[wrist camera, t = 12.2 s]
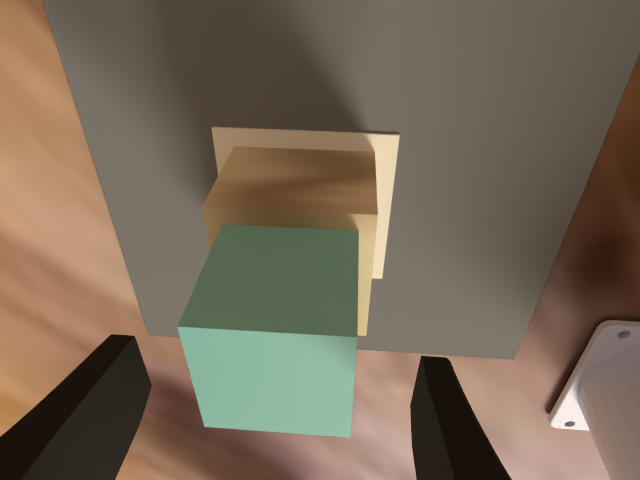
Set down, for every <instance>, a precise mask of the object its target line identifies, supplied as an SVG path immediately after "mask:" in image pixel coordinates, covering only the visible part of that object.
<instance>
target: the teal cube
mask: <svg viewBox="0 0 640 480" xmlns="http://www.w3.org/2000/svg"><path fill="white" fill-rule="evenodd" d="M358 263H359V231H358V230H336V229H313V228H291V227H268V226H246V225H223V224H222V225H221V228H220V230H219V232H218V234H217V237H216V239H215V241H214V244H213V246H212V248H211V250H210V253H209V255H208V257H207V260H206V262H205V264H204V266H203V269H202V271H201V273H200V276H199V278H198V280H197V283H196V285H195V287H194V289H193V292H192V294H191V296H190V299H189V301H188V303H187V305H186V308H185V310H184V312H183V315H182V317H181V319H180V321H179V324H178V326H177V328H178V332H179V335H180V339H181V343H182V346H183V350H184V354H185V357H186V361H187V365H188V368H189V372H190V376H191V379H192V383H193V387H194V390H195V394H196V398H197V401H198V405H199V409H200V412H201V416H202V420H203V424H204V427H213V428H227V429H241V430H255V431H268V432H282V433H296V434H310V435H324V436H338V437H350V433H351V419H352V405H353V392H354V378H355V365H356V351H357V337H358Z"/></svg>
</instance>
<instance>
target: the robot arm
mask: <svg viewBox="0 0 640 480" xmlns="http://www.w3.org/2000/svg"><path fill="white" fill-rule="evenodd" d="M151 386H152V385H151V382H150V379H149V376H148V373H147V370H146V367H145V365H144V362H143V359H142V356H141V353H140V350H139V347H138V344H137V341H136V338H135V336H128V335H113V334H111V335H110V336H109V337H108V338H107V339H106V340H105V341H104V342H103V343H102V344H101V345H99V346H98V347H97V348H96V349H95V350H94V351H93V352H92V353H91V354H90V355H89V356H88V357H87V358H86V359H85V360H84V361H83V362H82V363H81V364H80V365H79V366H78V367H77V368H76V369H75V370H74V371H73V372H72V373H70V374H69V375H68V376H67V377H66V378H65V379H64V380H63V381H62V382H61V383H60V384H59V385H58V386H57V387H56V388H55V389H54V390H52V391H51V392H50V393H49V394H48V395H47V396H46V397H45V398H44V399H43V400H42V401H41V402H40V403H38V404H37V405H36V406H35V407H34V408H33V409H32V410H31V411H30V412H29V413H27V414H26V415H25V416H24V417H23V418H22V419H21V420H19V421H18V422H17V423H16V424H15V425H14V426H12V427H11V428H10V429H9V430H8V431H7V432H6V433H4V434H3V435H2V436H1V437H0V480H115V478H116V476H117V474H118V472H119V470H120V467H121V465H122V463H123V461H124V459H125V456H126V454H127V452H128V450H129V447H130V445H131V443H132V441H133V438H134V436H135V434H136V432H137V429H138V427H139V425H140V422H141V419H142V416H143V412H144V409H145V406H146V403H147V400H148V396H149V393H150V390H151ZM410 408H411V433H412V449H413V456H414V464H415V470H416V477H417V480H512V479H511V478H510V476H509V475H508V473H507V471H506V470H505V468H504V466H503V465H502V463H501V461H500V460H499V458H498V456H497V454H496V453H495V451H494V449H493V447H492V445H491V444H490V442H489V440H488V438H487V436H486V435H485V433H484V431H483V429H482V427H481V426H480V424H479V422H478V420H477V418H476V416H475V414H474V412H473V410H472V408H471V406H470V404H469V402H468V400H467V398H466V396H465V394H464V392H463V390H462V388H461V385H460V383H459V381H458V379H457V376H456V374H455V372H454V369H453V367H452V365H451V362H450V361H449V360H448V359H447V358H444V357H429V356H421V359H420V364H419V368H418V373H417V377H416V382H415V387H414V391H413V396H412V400H411V405H410ZM548 420H549V423H550V425H551V426H552V427H554V428H563V429H577V430H590V433H591V435H592V437H593V440H594V442H595V444H596V447H597V449H598V451H599V454H600V456H601V458H602V461H603V463H604V465H605V468H606V470H607V472H608V475H609V477H610V479H611V480H640V322H634V321H618V320H608V321H604V322H602V323H601V324H599V326H598V327H597V328H596V330H595V332H594V334H593V336H592V338H591V339H590V341H589V343H588V345H587V347H586V349H585V350H584V352H583V354H582V356H581V358H580V360H579V361H578V363H577V365H576V367H575V369H574V371H573V372H572V374H571V376H570V378H569V380H568V382H567V383H566V385H565V387H564V389H563V391H562V393H561V394H560V396H559V398H558V400H557V402H556V404H555V405H554V407H553V409H552V411H551V413H550V415H549V416H548Z"/></svg>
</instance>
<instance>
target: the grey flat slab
mask: <svg viewBox="0 0 640 480" xmlns="http://www.w3.org/2000/svg"><path fill="white" fill-rule="evenodd" d="M42 1H43V4H44V7H45V10H46V14H47V17H48V20H49V23H50V26H51V29H52V32H53V36H54V39H55V42H56V45H57V48H58V51H59V54H60V58H61V61H62V64H63V67H64V70H65V73H66V77H67V80H68V83H69V86H70V89H71V92H72V95H73V99H74V102H75V105H76V108H77V111H78V114H79V117H80V121H81V124H82V127H83V130H84V133H85V136H86V139H87V143H88V146H89V149H90V152H91V155H92V158H93V162H94V165H95V168H96V171H97V174H98V177H99V180H100V184H101V187H102V190H103V193H104V196H105V199H106V202H107V206H108V209H109V212H110V215H111V218H112V221H113V225H114V228H115V231H116V234H117V237H118V240H119V243H120V247H121V250H122V253H123V256H124V259H125V262H126V265H127V269H128V272H129V275H130V278H131V281H132V284H133V287H134V291H135V294H136V297H137V300H138V303H139V306H140V310H141V313H142V316H143V319H144V322H145V325H146V328H147V332H148V335H151V336H166V337H180V335H179V332H178V328H177V326H178V324H179V321H180V319H181V317H182V315H183V312H184V310H185V308H186V305H187V303H188V301H189V299H190V296H191V294H192V292H193V289H194V287H195V285H196V283H197V280H198V278H199V276H200V273H201V271H202V269H203V266H204V264H205V262H206V260H207V257H208V255H209V253H210V249H209V243H208V237H207V232H206V226H205V221H204V215H203V209H202V206H203V204H204V202H205V200H206V198H207V197H208V195H209V193H210V191H211V189H212V187H213V185H214V183H215V181H216V180H217V178H218V176H219V174H220V172H221V170H222V168H223V166H224V164H225V162H226V161H227V159H228V157H229V155H230V153H231V151H232V149H233V147H234V146H235V147H262V148H289V149H315V150H342V151H368V152H375V162H376V183H377V205H378V220H377V230H376V241H375V251H374V261H373V272H372V282H371V292H370V303H369V313H368V323H367V334H366V336H359V335H358V337H357V349H360V350H375V351H390V352H405V353H420V354H435V355H450V356H465V357H480V358H495V359H510V360H514V358H515V356H516V353H517V351H518V348H519V346H520V344H521V341H522V339H523V336H524V334H525V331H526V329H527V327H528V324H529V322H530V319H531V317H532V314H533V312H534V310H535V307H536V305H537V302H538V300H539V297H540V295H541V292H542V290H543V288H544V285H545V283H546V280H547V278H548V275H549V273H550V271H551V268H552V266H553V263H554V261H555V258H556V256H557V254H558V251H559V249H560V246H561V244H562V241H563V239H564V237H565V234H566V232H567V229H568V227H569V224H570V222H571V220H572V217H573V215H574V212H575V210H576V207H577V205H578V203H579V200H580V198H581V195H582V193H583V190H584V188H585V185H586V183H587V181H588V178H589V176H590V173H591V171H592V168H593V166H594V164H595V161H596V159H597V156H598V154H599V151H600V149H601V147H602V144H603V142H604V139H605V137H606V134H607V132H608V130H609V127H610V125H611V122H612V120H613V117H614V115H615V113H616V110H617V108H618V105H619V103H620V100H621V98H622V95H623V93H624V91H625V88H626V86H627V83H628V81H629V78H630V76H631V74H632V71H633V69H634V66H635V64H636V61H637V59H638V57H639V54H640V0H42Z"/></svg>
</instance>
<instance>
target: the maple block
mask: <svg viewBox="0 0 640 480" xmlns="http://www.w3.org/2000/svg"><path fill="white" fill-rule="evenodd" d="M202 209H203V215H204V221H205V226H206V232H207V237H208V243H209V249H210V250H211V248H212V246H213V244H214V241H215V239H216V237H217V234H218V232H219V230H220V228H221V225H222V224H223V225H246V226H268V227H291V228H313V229H336V230H358V231H359V263H358V335H359V336H366V334H367V323H368V313H369V303H370V292H371V282H372V272H373V261H374V251H375V241H376V230H377V220H378V205H377V183H376V162H375V152H368V151H342V150H315V149H289V148H262V147H235V146H234V147H233V149H232V151H231V153H230V155H229V157H228V159H227V161H226V162H225V164H224V166H223V168H222V170H221V172H220V174H219V176H218V178H217V180H216V181H215V183H214V185H213V187H212V189H211V191H210V193H209V195H208V197H207V198H206V200H205V202H204V204H203V206H202Z"/></svg>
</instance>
